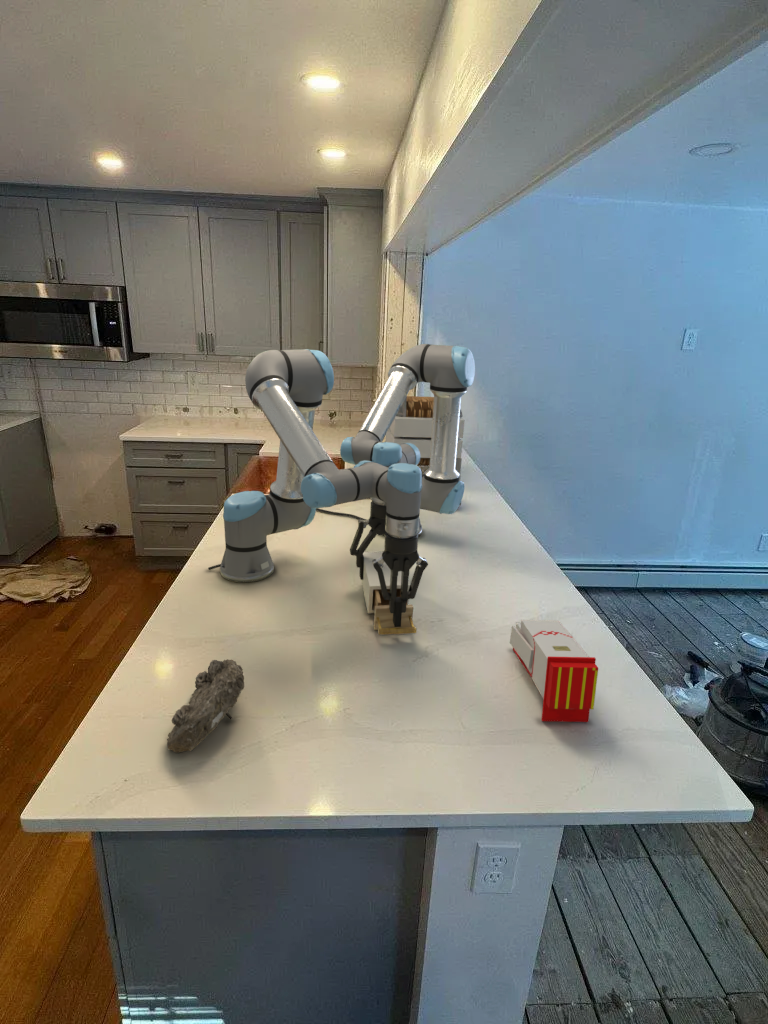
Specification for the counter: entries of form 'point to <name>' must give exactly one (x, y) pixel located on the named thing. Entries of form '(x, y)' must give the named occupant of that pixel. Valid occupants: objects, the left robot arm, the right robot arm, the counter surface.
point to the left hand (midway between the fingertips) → (396, 623)
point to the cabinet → (375, 578)
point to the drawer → (390, 616)
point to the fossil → (206, 705)
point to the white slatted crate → (419, 428)
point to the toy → (556, 669)
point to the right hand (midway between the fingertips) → (381, 577)
